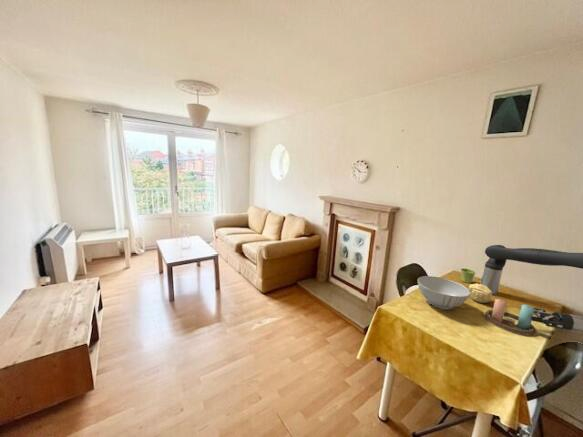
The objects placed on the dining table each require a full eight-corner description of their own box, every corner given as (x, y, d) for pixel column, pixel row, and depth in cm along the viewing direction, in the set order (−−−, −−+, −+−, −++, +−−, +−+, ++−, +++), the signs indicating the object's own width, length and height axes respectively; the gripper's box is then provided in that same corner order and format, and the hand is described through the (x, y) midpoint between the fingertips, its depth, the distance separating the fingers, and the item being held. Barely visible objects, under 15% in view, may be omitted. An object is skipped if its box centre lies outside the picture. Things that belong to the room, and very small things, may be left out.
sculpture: (464, 298, 150) (467, 283, 148) (470, 294, 157) (473, 279, 155) (486, 307, 141) (490, 290, 139) (492, 301, 148) (496, 285, 146)
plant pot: (470, 280, 180) (473, 269, 178) (476, 285, 171) (478, 274, 170) (456, 278, 183) (458, 267, 181) (461, 282, 174) (463, 271, 173)
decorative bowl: (459, 322, 123) (463, 301, 121) (407, 301, 143) (410, 282, 141) (472, 306, 141) (475, 287, 139) (424, 289, 160) (426, 272, 158)
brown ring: (480, 319, 128) (480, 315, 127) (491, 309, 138) (492, 306, 138) (528, 339, 112) (529, 336, 112) (537, 327, 123) (538, 323, 123)
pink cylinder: (489, 320, 127) (494, 300, 125) (492, 318, 129) (496, 298, 127) (500, 325, 123) (505, 304, 121) (503, 322, 126) (507, 301, 124)
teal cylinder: (515, 327, 122) (520, 306, 120) (518, 324, 125) (523, 303, 123) (527, 332, 118) (533, 310, 116) (530, 329, 121) (535, 307, 119)
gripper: (560, 307, 120) (520, 300, 126) (582, 323, 107) (536, 314, 113) (556, 320, 122) (517, 313, 127) (578, 337, 108) (533, 328, 114)
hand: (526, 313), depth 120 cm, fingers open, 8 cm apart
